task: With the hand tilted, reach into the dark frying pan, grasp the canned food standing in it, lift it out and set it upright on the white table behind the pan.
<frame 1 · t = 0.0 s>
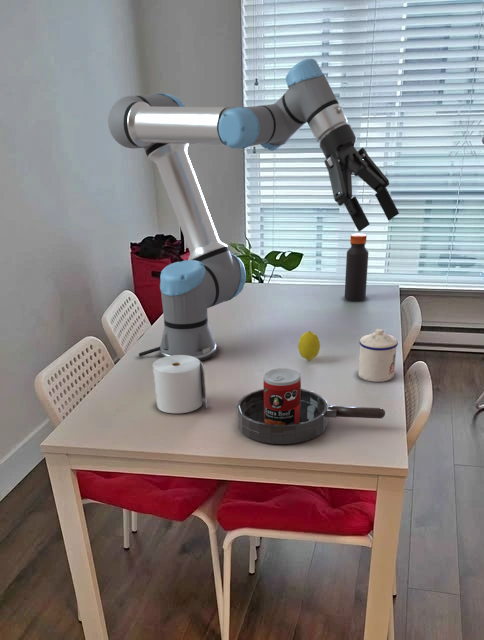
hand: (379, 222, 148), 36 cm above the table, tool tilted 35°, fingers open, 13 cm apart
toilet tissue: (182, 404, 156), on the table
canned food: (282, 423, 145), resting on frying pan
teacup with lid: (375, 373, 167), on the table
bottle: (354, 299, 220), on the table
frying pan: (282, 424, 145), on the table
lemon: (308, 361, 176), on the table
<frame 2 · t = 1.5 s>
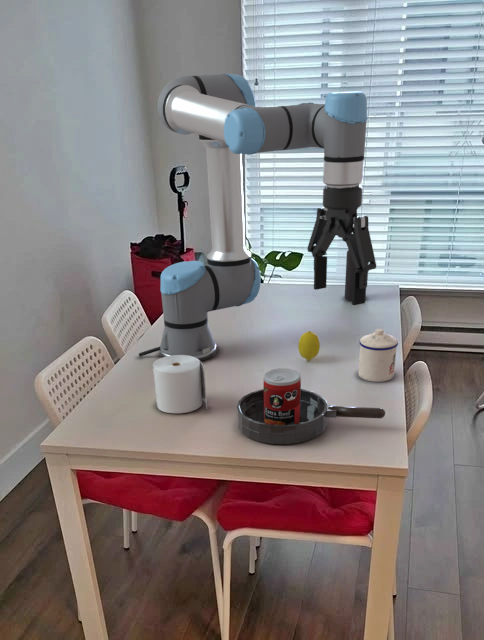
hand: (338, 296, 139), 25 cm above the table, tool pointing down, fingers open, 13 cm apart
nothing on the table moved.
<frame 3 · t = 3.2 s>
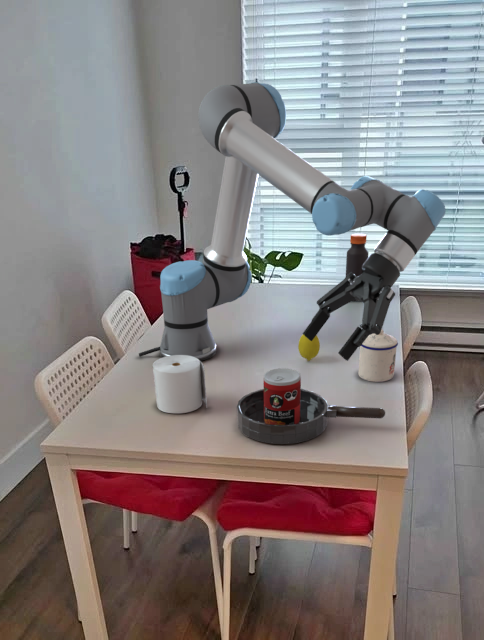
hand: (324, 347, 141), 15 cm above the table, tool tilted 45°, fingers open, 13 cm apart
nothing on the table moved.
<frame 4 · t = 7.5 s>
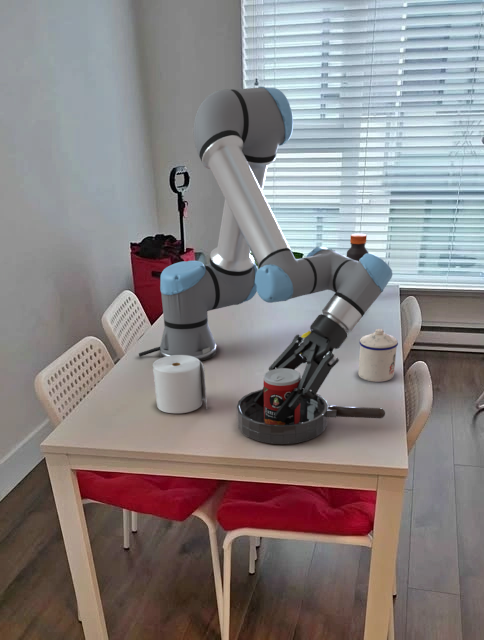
hand: (268, 411, 142), 4 cm above the table, tool tilted 45°, fingers closed on canned food, 8 cm apart
canned food: (282, 423, 145), resting on frying pan, touching gripper
everything else where it was.
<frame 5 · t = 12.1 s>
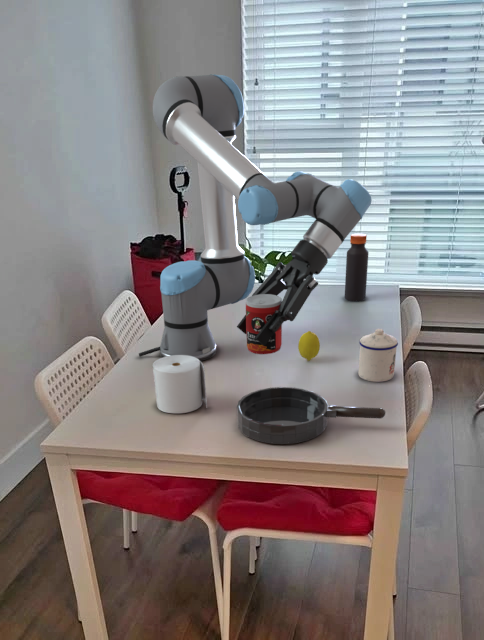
hand: (250, 336, 146), 16 cm above the table, tool tilted 45°, fingers closed on canned food, 8 cm apart
canned food: (264, 349, 149), point 13 cm above the table, touching gripper
everything else where it was.
when the fingers open (3 cm above the table, at t = 17.0 s): canned food stays where it is, on the table.
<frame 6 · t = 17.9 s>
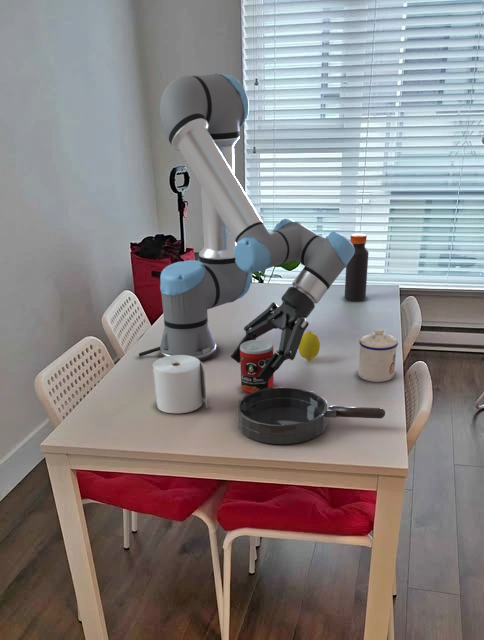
hand: (247, 369, 158), 5 cm above the table, tool tilted 45°, fingers open, 13 cm apart
canned food: (257, 389, 162), on the table
everything else where it was.
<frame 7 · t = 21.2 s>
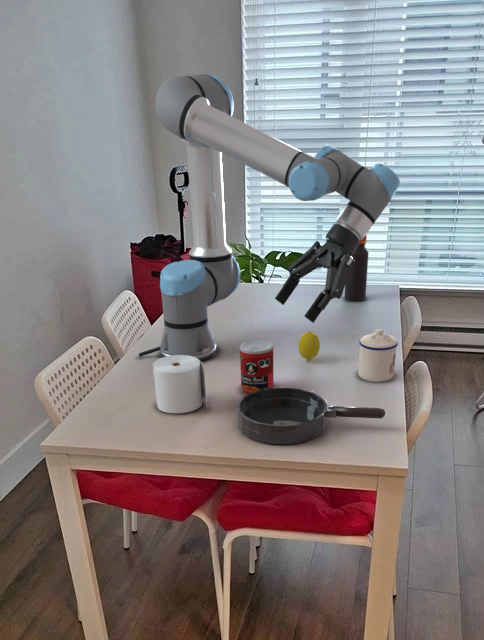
hand: (293, 310, 157), 17 cm above the table, tool tilted 40°, fingers open, 13 cm apart
nothing on the table moved.
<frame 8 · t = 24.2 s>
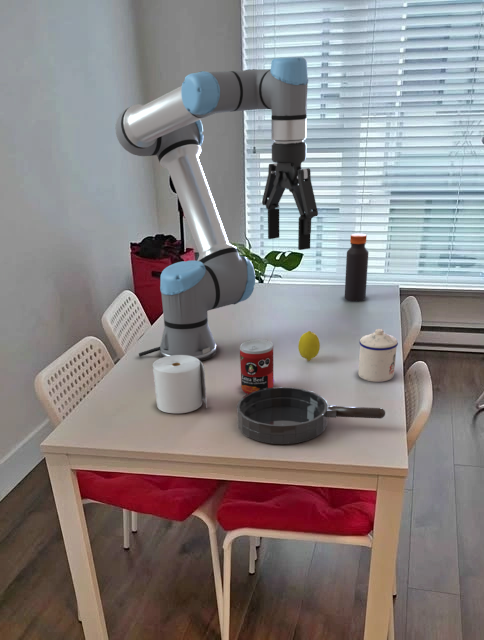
hand: (288, 243, 156), 31 cm above the table, tool pointing down, fingers open, 13 cm apart
nothing on the table moved.
at the end: canned food inside the target area (0.1 cm from its centre), on the table; canned food tilted 0°; the gripper is holding nothing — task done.
